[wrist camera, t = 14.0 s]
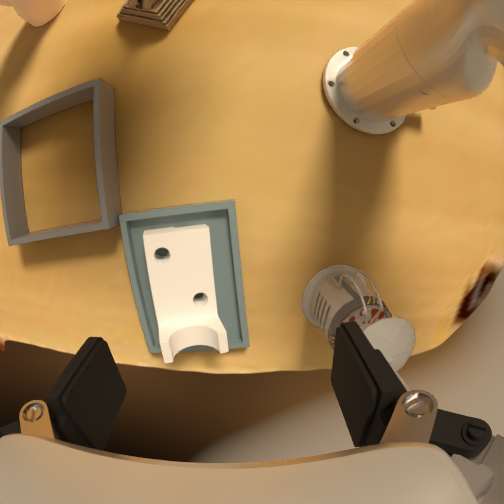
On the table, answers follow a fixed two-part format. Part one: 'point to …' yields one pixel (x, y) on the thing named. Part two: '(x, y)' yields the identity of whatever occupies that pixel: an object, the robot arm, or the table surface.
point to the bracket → (183, 289)
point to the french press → (357, 312)
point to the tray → (223, 260)
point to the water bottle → (36, 9)
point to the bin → (10, 172)
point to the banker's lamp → (153, 12)
